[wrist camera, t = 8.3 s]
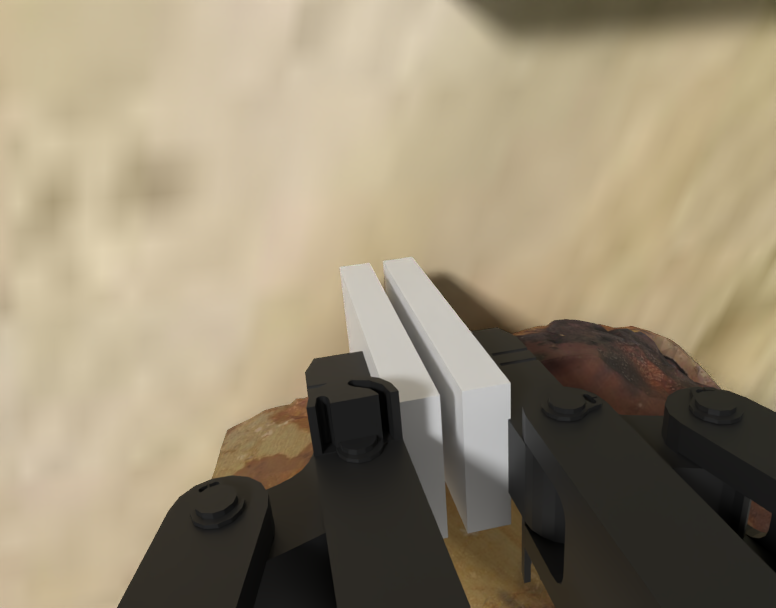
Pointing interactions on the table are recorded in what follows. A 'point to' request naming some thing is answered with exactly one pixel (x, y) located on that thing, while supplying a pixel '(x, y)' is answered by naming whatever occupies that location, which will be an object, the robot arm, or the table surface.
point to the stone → (504, 544)
